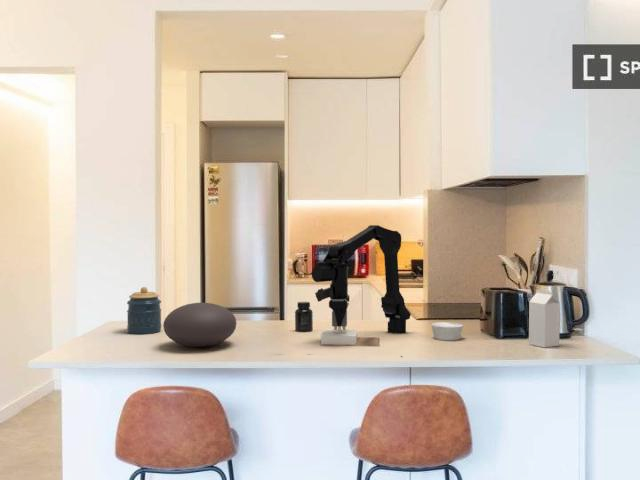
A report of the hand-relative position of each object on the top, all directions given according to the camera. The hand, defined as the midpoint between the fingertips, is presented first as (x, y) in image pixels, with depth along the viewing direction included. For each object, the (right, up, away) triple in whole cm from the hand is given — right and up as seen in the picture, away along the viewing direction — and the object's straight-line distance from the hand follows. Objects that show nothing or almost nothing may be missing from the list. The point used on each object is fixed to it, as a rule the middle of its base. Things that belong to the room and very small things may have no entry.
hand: (339, 324), depth 211 cm
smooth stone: (-49, -7, -2) cm, 49 cm away
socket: (0, -6, 0) cm, 6 cm away
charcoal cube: (0, -2, 0) cm, 2 cm away
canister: (-76, -7, +25) cm, 80 cm away
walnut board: (+4, -7, 0) cm, 8 cm away
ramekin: (+40, -7, +11) cm, 42 cm away
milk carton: (+71, -7, -2) cm, 71 cm away
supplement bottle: (-13, -7, +21) cm, 26 cm away
